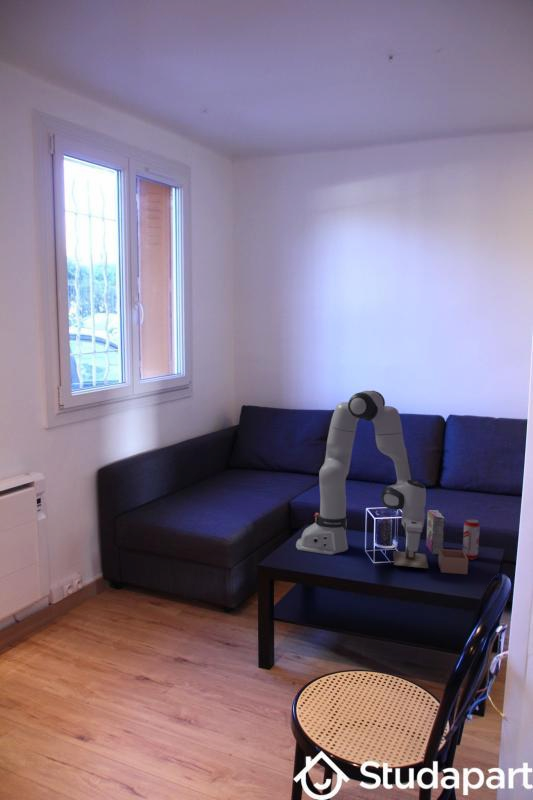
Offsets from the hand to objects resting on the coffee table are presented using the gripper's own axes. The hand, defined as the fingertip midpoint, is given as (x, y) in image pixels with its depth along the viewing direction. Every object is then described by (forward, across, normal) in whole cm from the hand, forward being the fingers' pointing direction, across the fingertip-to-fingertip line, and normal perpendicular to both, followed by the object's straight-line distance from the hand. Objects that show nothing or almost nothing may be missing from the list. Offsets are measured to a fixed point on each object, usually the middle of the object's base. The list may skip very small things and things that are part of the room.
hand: (410, 554), depth 254 cm
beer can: (+4, -15, +26) cm, 30 cm away
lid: (+3, 0, 0) cm, 3 cm away
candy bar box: (+5, -20, +12) cm, 24 cm away
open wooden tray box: (+4, -1, +17) cm, 17 cm away
